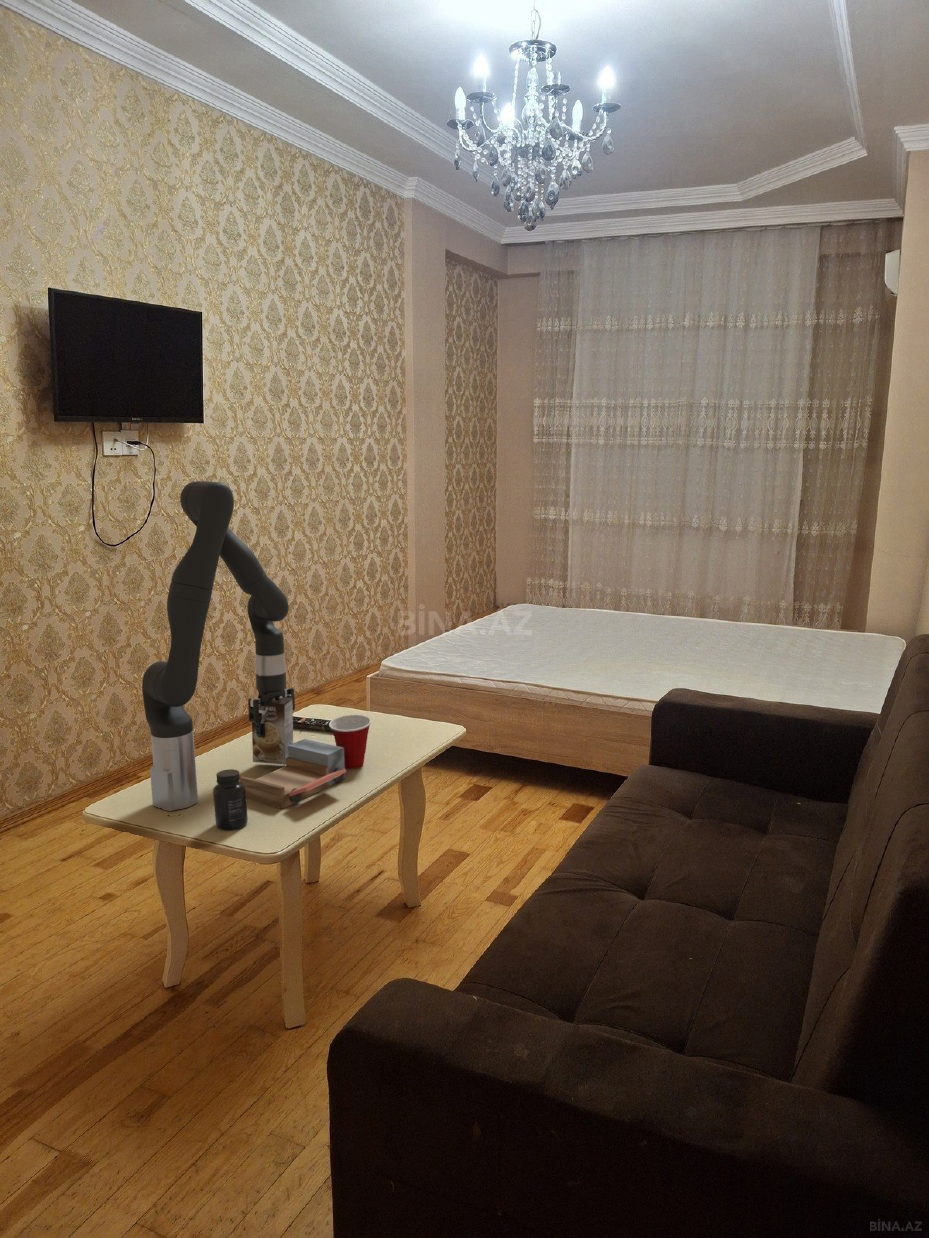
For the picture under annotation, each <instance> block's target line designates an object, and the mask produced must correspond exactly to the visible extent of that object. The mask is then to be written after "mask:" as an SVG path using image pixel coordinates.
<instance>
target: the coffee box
mask: <svg viewBox="0 0 929 1238" xmlns="http://www.w3.org/2000/svg"><path fill="white" fill-rule="evenodd" d="M256 698H258V696H257V697H256ZM268 705H269V715H268V716H267V717H266V719H265V721H264V723H265V737H264V738H260V737H258V736H257V734H256V723H254V722H251V740H252V741H251V744H252V763H259V764H272V765H273V764H274V765H283V766H286V758H287V757H288V745H291V744H293V743H294V717H293V715H294V711H293V700H292V698H287V697H284V699H281V700H276V701H275V702H272V703H269V702H268V703H267V706H268ZM267 706H266V707H264V705H263V704H262V703H261V704H260V706H259V710H262V711H265V710H266V708H267ZM261 716H262V714H260V718H261ZM253 717H254V713H253Z"/></svg>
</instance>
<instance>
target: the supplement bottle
mask: <svg viewBox="0 0 929 1238" xmlns="http://www.w3.org/2000/svg"><path fill="white" fill-rule="evenodd" d="M212 797H213V807H214V821H215V826H216V828H217V829H218V830H221V831H226V832H227V831H236V830H239V829H242V828H244V827H245V826H247V824H248V806H247V799H246V791H245V786H244V784H243V783H242V782H241V776H240V771H239V770H238V769H233V768H232V769H229V768H228V769H223V770H220V771H218V772H216V785H215V786H214V787H213V789H212Z"/></svg>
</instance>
